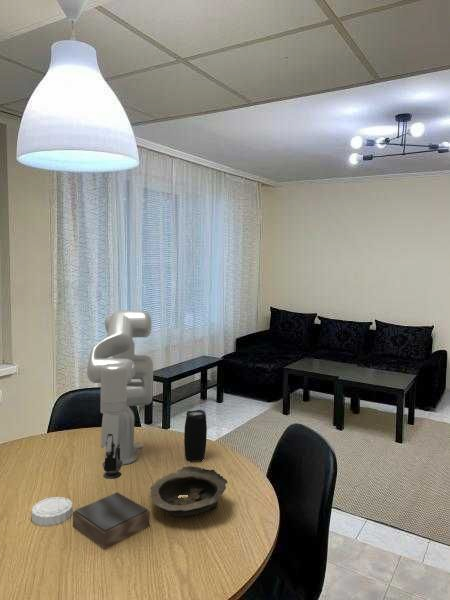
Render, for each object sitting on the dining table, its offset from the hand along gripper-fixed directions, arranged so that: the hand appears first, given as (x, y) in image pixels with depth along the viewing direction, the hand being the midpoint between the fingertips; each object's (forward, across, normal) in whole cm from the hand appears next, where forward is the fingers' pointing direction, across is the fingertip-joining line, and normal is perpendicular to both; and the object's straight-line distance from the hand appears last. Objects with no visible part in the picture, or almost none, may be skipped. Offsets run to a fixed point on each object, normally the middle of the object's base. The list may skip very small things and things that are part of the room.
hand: (112, 465), depth 132 cm
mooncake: (+19, -6, -19) cm, 28 cm away
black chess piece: (+3, 0, 0) cm, 3 cm away
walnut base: (+19, 0, 0) cm, 19 cm away
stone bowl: (+19, -10, +23) cm, 31 cm away
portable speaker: (+19, -48, +25) cm, 58 cm away
